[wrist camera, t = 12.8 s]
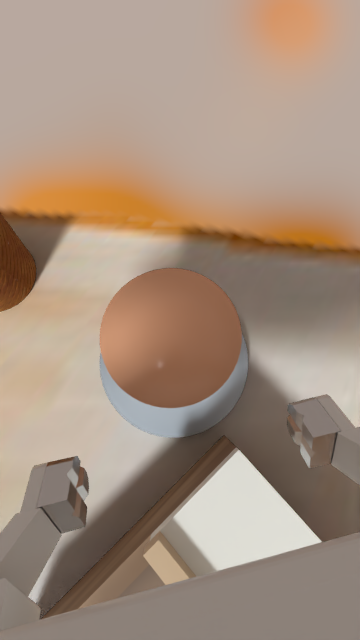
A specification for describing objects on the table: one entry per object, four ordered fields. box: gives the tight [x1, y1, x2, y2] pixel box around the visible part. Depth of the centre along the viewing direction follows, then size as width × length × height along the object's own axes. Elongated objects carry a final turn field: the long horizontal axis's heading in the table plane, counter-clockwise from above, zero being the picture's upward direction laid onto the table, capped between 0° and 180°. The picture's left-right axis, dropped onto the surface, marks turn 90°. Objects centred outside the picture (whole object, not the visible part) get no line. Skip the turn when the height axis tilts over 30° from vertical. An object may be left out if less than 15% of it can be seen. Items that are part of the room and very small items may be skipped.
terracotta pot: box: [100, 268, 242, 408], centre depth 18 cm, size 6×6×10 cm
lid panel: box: [143, 447, 322, 585], centre depth 15 cm, size 13×7×2 cm, turn 43°
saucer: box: [100, 334, 248, 438], centre depth 23 cm, size 11×11×1 cm
